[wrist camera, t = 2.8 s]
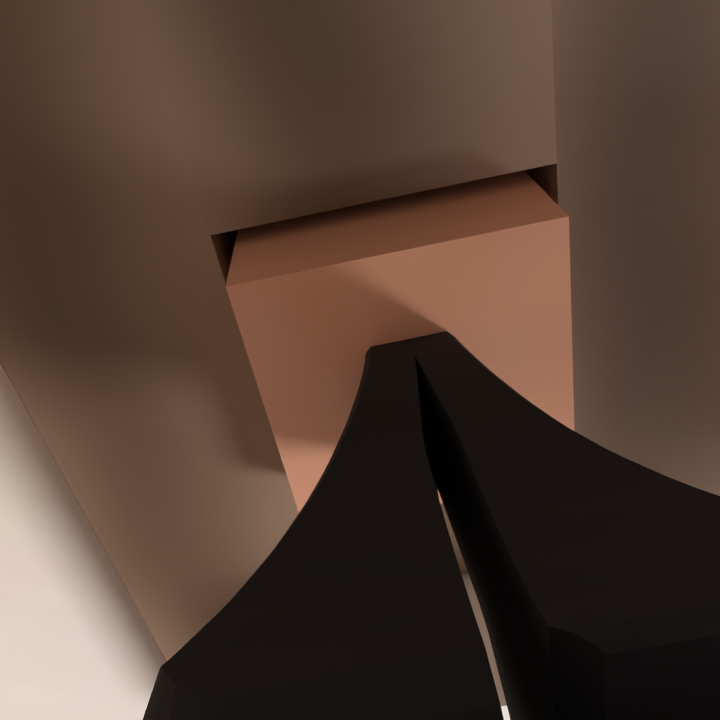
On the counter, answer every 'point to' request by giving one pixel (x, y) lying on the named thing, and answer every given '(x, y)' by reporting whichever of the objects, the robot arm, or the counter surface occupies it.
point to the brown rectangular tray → (319, 194)
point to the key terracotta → (402, 302)
